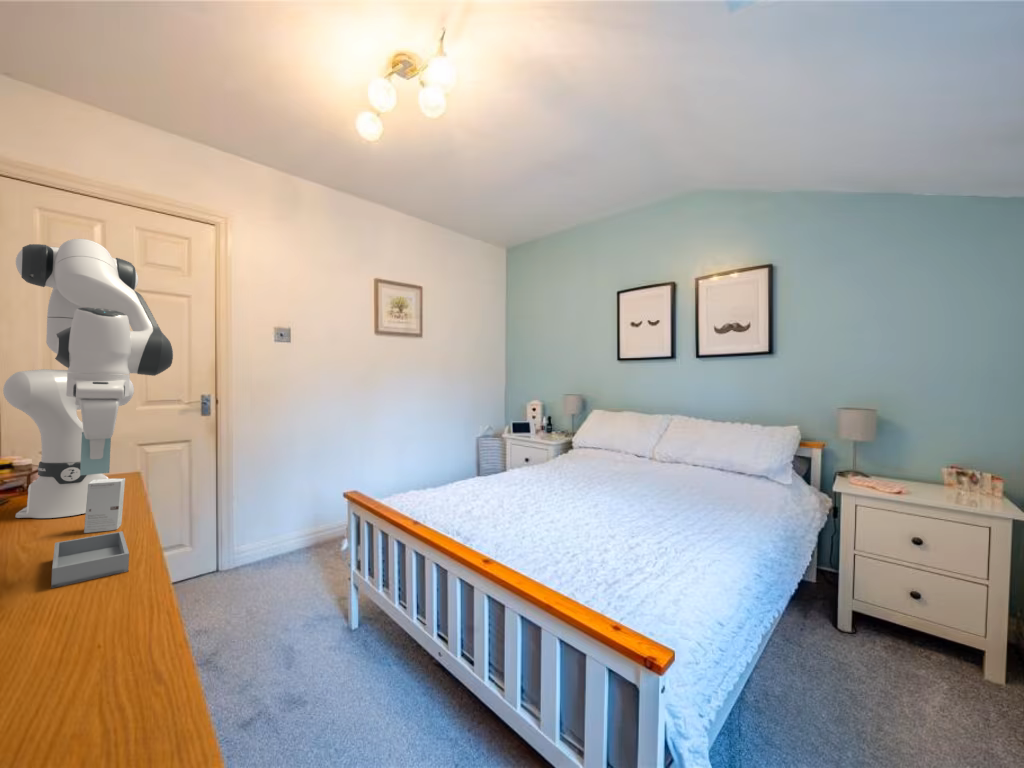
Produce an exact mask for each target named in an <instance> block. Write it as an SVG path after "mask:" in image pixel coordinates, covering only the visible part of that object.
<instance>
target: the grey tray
mask: <svg viewBox="0 0 1024 768" xmlns="http://www.w3.org/2000/svg"><path fill="white" fill-rule="evenodd" d="M53 549H54V550H53V559H52V568H51V586H50V589H55V588H59V587H64V586H68V585H73V584H77V583H81V582H82V583H83V582H86V581H91V580H96V579H99V578H104V577H108V576H113V575H117V574H121V573H125V572H126V573H127V572H129V563H130V562H129V561H130V552H129V549H128V544H127V542H126V539H125V534H124V531H122V530H121V531H117V532H116V531H115V532H111V533H104V534H99V535H92V536H86V537H81V538H73V539H71V540H64V541H62V540H61V541H58V542H57V541H56V542H54V548H53Z"/></svg>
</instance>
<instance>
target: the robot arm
mask: <svg viewBox="0 0 1024 768" xmlns="http://www.w3.org/2000/svg"><path fill="white" fill-rule="evenodd" d="M15 266H16V269H17V271H18V273H19V275H20V276H21V278H22V279H23V280H24V281H25V282H26V283H27V284H30V285H34V286H37V287H41V288H42V287H43V288H44V287H46V288H47V287H48V288H52V291H51V293H50V296H49V297H50V298H49V300H48V306H47V315H46V317H47V318H46V341H45V342H46V345H47V347H48V348H49V349H50V351H52V352H53V353H55V354H56V356H55V358H54V359H55V361H57V362H58V363H60V364H61V365H63V366H64V367H66V368H67V369H45V368H43V369H42V368H41V369H31V370H22V371H17V372H14V373H13V374H12V375H10V376H9V377H8V378H7V379H6V381H5V382H4V384H3V389H2V392H3V393H2V394H3V396H4V398H5V400H6V402H8V404H10V406H12V407H14V408H15V409H17V410H19V411H22V412H23V413H25V414H26V415H28V417H30V418H31V419H32V420H33V421H34V423H35V425H36V426H37V428H38V430H39V433H40V443H41V444H40V445H41V459H40V461H39V462H38V465H37V475H38V477H37V479H35V480H34V481H33V482H31V483H30V484H29V485H28V488H27V500H26V503H27V504H26V506H25V507H23V508H22V509H21V510H19V511H17V512H16V513H15V518H17V519H20V518H21V519H22V518H23V519H24V518H32V519H52V518H53V519H55V518H64V517H70V516H71V517H73V516H77V515H81V514H82V515H83V514H86V503H87V492H88V484H89V483H90V482H91V481H92V480H97V479H109V477H108V476H107V475H106V474H105V473H101V474H91V475H80V464H81V442H82V432H84V436H85V438H86V439H90V459H101V458H103V449H104V444H105V439H107V438H111V439H112V437H113V435H114V432H115V428H116V422H117V417H118V412H119V407H121V406H125V405H127V404H128V403H130V401H131V399H132V398H133V396H134V394H135V386H134V383H133V382H132V380H131V379H130V378H131V375H130V374H137V375H144V376H153V377H155V376H158V375H159V374H161V373H163V372H165V371H167V370H168V369H169V368H170V367H171V366H172V364H173V360H174V349H173V345H172V344H171V343H172V342H171V341H170V340H169V338H167V336H166V335H165V334H164V333H163V331H162V329H161V328H160V326H159V324H158V323H157V320H156V319H155V317H154V315H153V313H152V310H151V309H150V307H149V306H148V304H147V302H146V301H145V299H144V297H143V296H142V295H141V293H139V292H138V291H136V289H137V287H138V283H139V276H138V273H137V272H138V271H137V270H136V267H135V266H134V265H133V263H131V262H129V261H127V260H124V259H122V258H119V257H112V255H111V253H110V252H109V250H108V249H107V248H106V247H104V246H103V245H102V244H100V243H98V242H96V241H94V240H91V239H86V238H73V239H70V240H67V241H65V242H63V243H62V244H60V246H59V247H55V246H49V245H47V244H40V243H38V244H37V243H36V244H35V243H33V244H27V245H24V246H23V247H22V249H21V250H20V251H19V252H18V253H17V254H16V258H15ZM131 329H132V330H131ZM78 410H80V414H81V420H80V418H79V417H78V412H77V411H78Z"/></svg>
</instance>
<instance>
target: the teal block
mask: <svg viewBox="0 0 1024 768" xmlns="http://www.w3.org/2000/svg"><path fill="white" fill-rule="evenodd" d="M111 440H112V437H111V438H107V439H105V444H104V449H103V458H101V459H90V439H86V438H85V436H84V432H82V442H81V464H80V475H91V474H101V473H102V474H109V473H110V465H111V445H112V441H111Z"/></svg>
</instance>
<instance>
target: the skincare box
mask: <svg viewBox="0 0 1024 768" xmlns="http://www.w3.org/2000/svg"><path fill="white" fill-rule="evenodd" d="M125 483H126V478H125V477H121V478H108V479H97V480H92V481H91V482H90V483H89V484H88V492H87V503H86V513H85V516H84V517H85V518H84V531H83V533H84V534H88V533H89V534H90V533H99V532H108V531H116V530H118V529H119V528H121V525H122V523H123V522H122V520H123V510H124V509H123V507H124V494H125V486H126V484H125Z"/></svg>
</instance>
